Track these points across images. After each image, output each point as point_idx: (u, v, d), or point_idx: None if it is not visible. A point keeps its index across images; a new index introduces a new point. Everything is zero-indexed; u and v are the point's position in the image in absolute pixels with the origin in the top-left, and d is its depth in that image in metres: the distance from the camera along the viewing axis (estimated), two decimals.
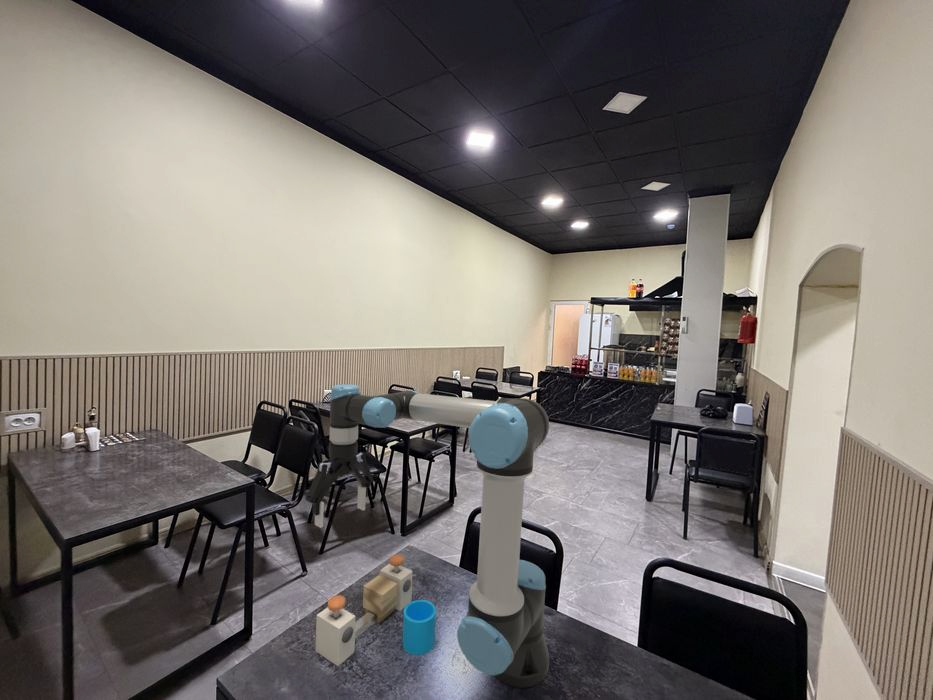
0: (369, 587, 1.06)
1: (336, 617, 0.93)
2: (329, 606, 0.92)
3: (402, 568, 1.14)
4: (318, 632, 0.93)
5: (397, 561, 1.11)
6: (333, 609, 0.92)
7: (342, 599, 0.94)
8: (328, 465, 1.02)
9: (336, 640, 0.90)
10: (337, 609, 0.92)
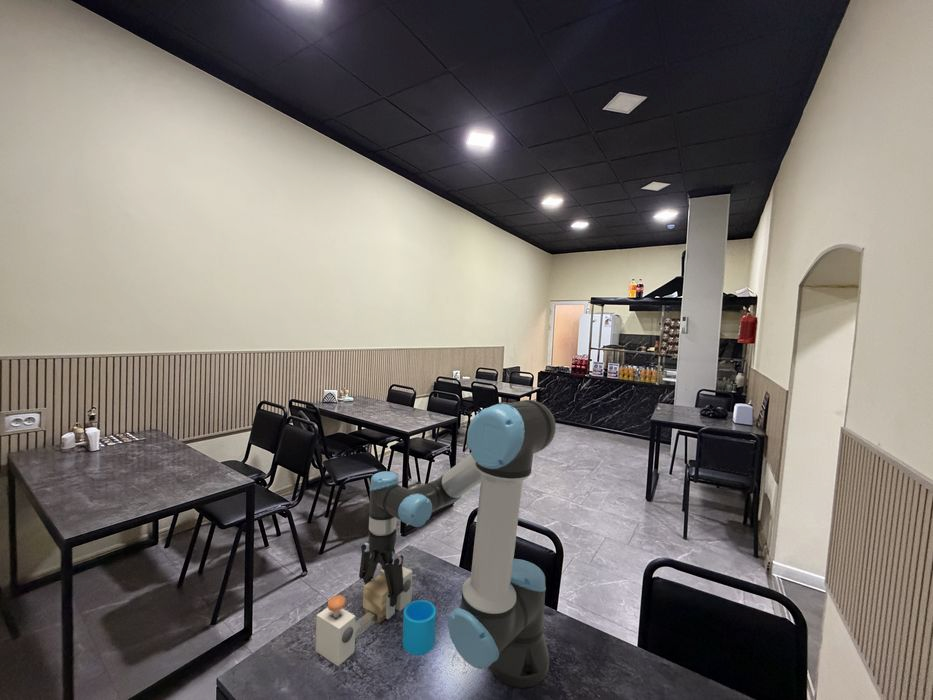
0: (369, 587, 1.06)
1: (336, 617, 0.93)
2: (329, 606, 0.92)
3: (402, 568, 1.14)
4: (318, 632, 0.93)
5: None
6: (333, 609, 0.92)
7: (342, 599, 0.94)
8: (368, 546, 1.09)
9: (336, 640, 0.90)
10: (337, 609, 0.92)
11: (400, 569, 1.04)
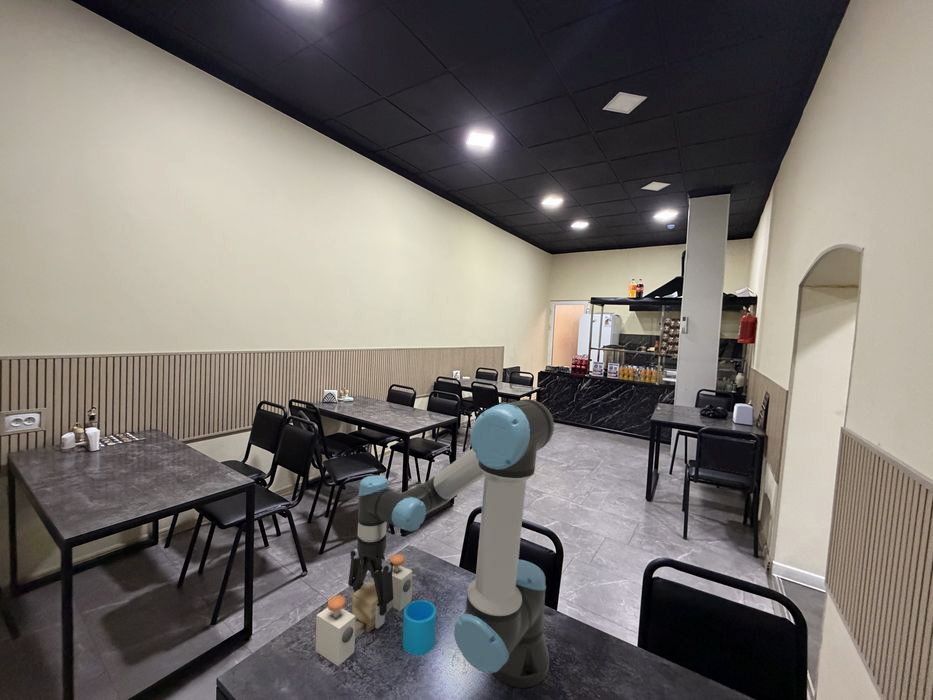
0: (358, 595, 1.02)
1: (336, 617, 0.93)
2: (329, 606, 0.92)
3: (402, 568, 1.14)
4: (318, 632, 0.93)
5: (397, 561, 1.11)
6: (333, 609, 0.92)
7: (342, 599, 0.94)
8: (357, 552, 1.05)
9: (336, 640, 0.90)
10: (337, 609, 0.92)
11: (390, 577, 1.00)
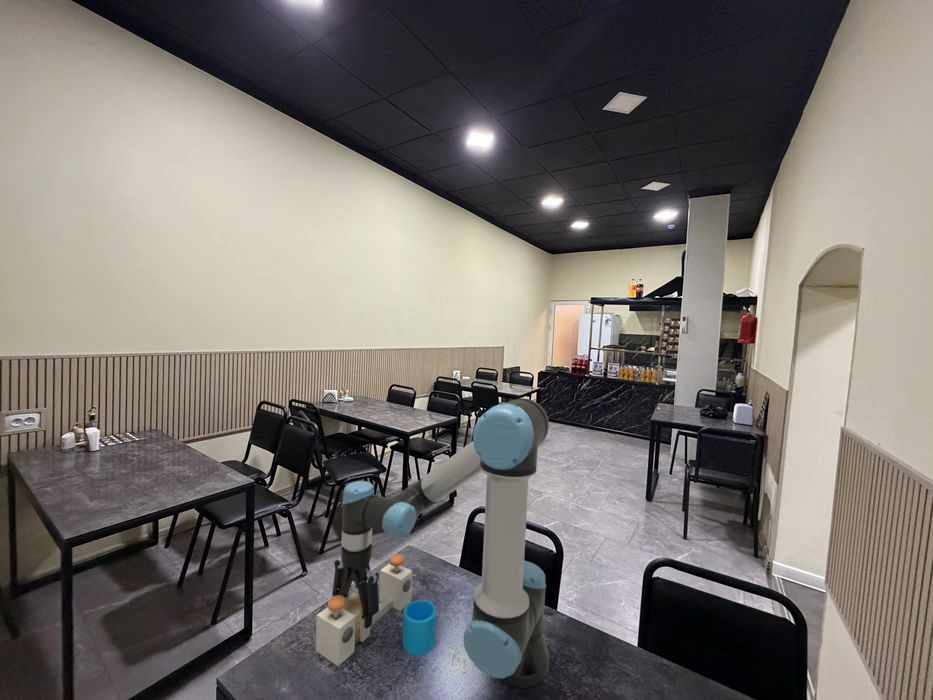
0: None
1: (336, 617, 0.93)
2: (329, 606, 0.92)
3: (402, 568, 1.14)
4: (318, 632, 0.93)
5: (397, 561, 1.11)
6: (333, 609, 0.92)
7: (342, 599, 0.94)
8: (341, 562, 1.01)
9: (336, 640, 0.90)
10: (337, 609, 0.92)
11: (375, 588, 0.96)
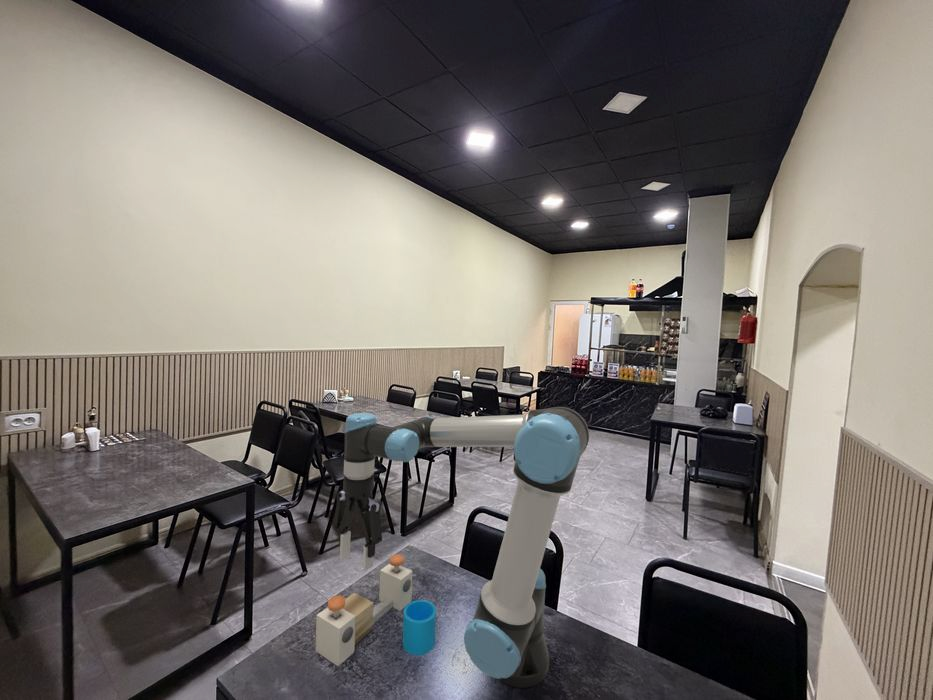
0: None
1: (336, 617, 0.93)
2: (329, 606, 0.92)
3: (402, 568, 1.14)
4: (318, 632, 0.93)
5: (397, 561, 1.11)
6: (333, 609, 0.92)
7: (342, 599, 0.94)
8: (343, 494, 1.00)
9: (336, 640, 0.90)
10: (337, 609, 0.92)
11: (378, 516, 0.95)
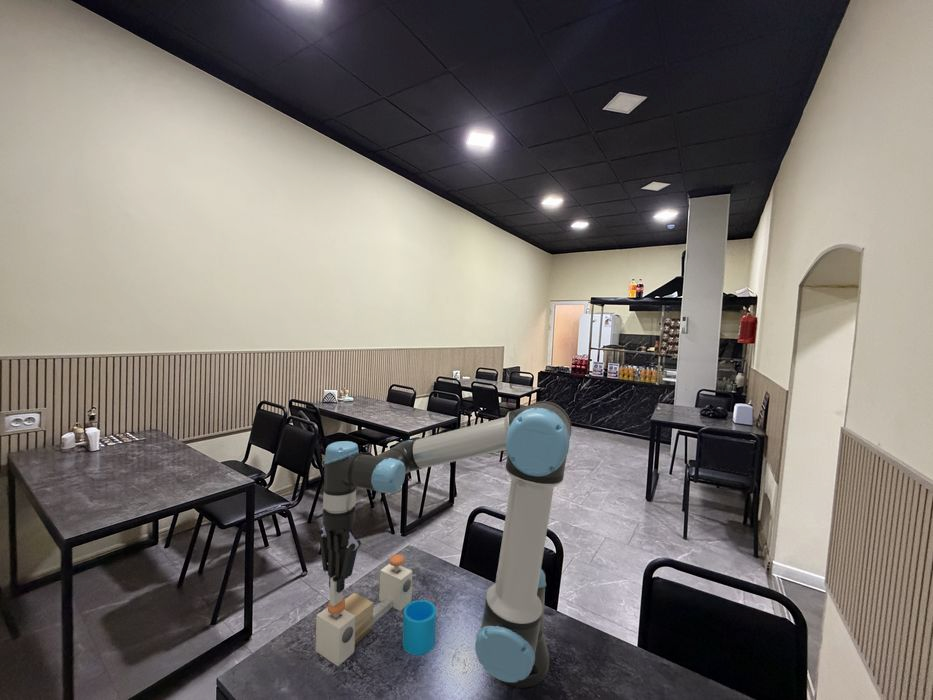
0: None
1: None
2: (329, 609, 0.92)
3: (402, 568, 1.14)
4: (318, 632, 0.93)
5: (397, 561, 1.11)
6: (333, 612, 0.92)
7: (342, 602, 0.94)
8: (324, 529, 0.95)
9: (336, 640, 0.90)
10: (337, 612, 0.92)
11: (354, 554, 0.91)
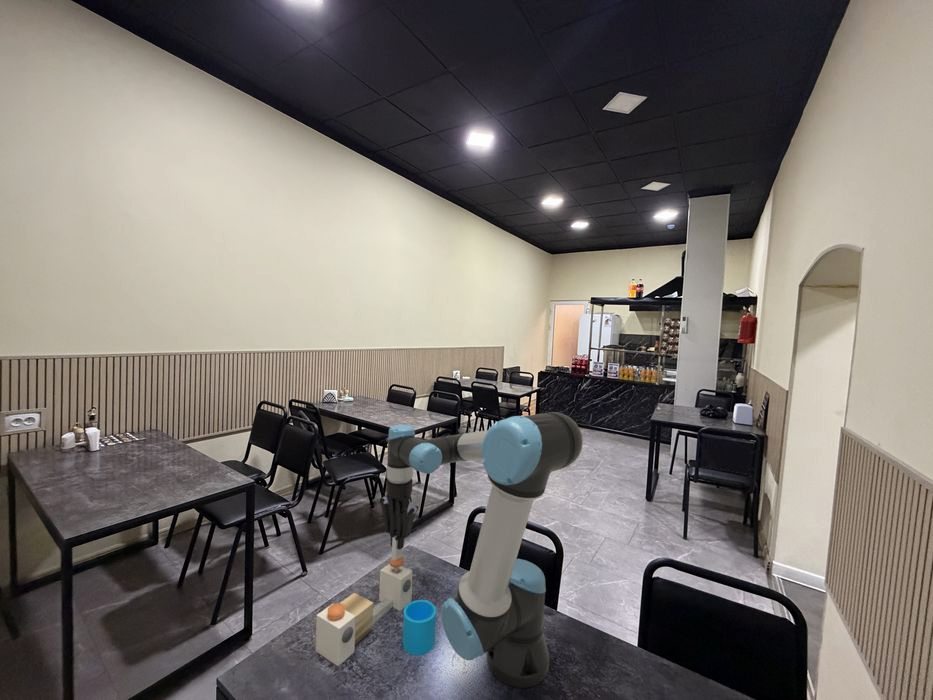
0: None
1: None
2: (329, 614, 0.92)
3: (402, 568, 1.14)
4: (318, 632, 0.93)
5: (397, 562, 1.11)
6: (333, 617, 0.92)
7: (342, 607, 0.94)
8: (386, 498, 1.14)
9: (336, 640, 0.90)
10: (337, 617, 0.92)
11: (412, 517, 1.10)
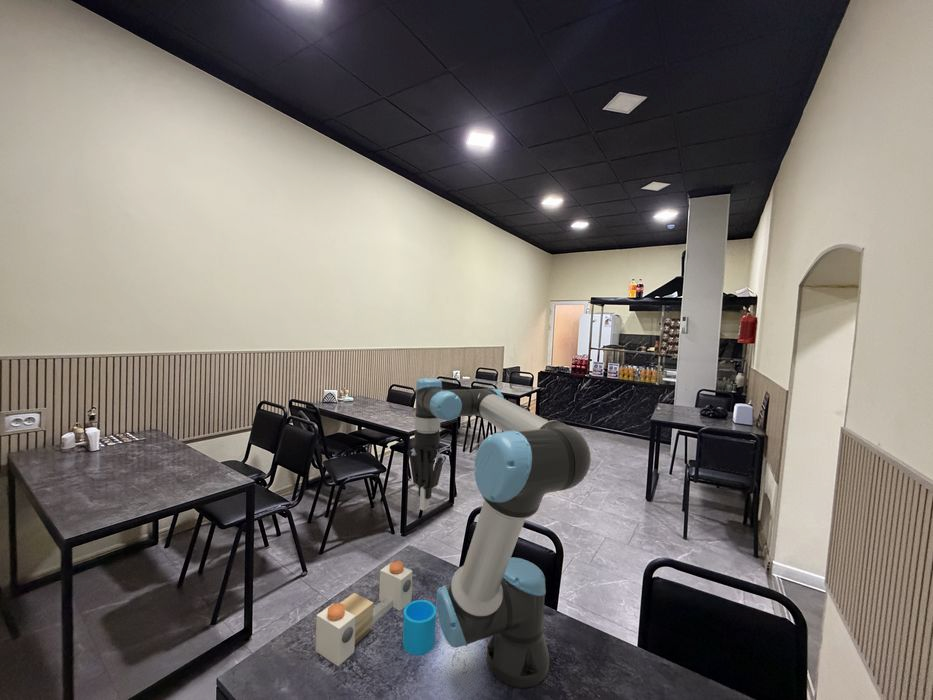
0: None
1: None
2: (329, 614, 0.92)
3: None
4: (318, 632, 0.93)
5: (397, 568, 1.11)
6: (333, 617, 0.92)
7: (342, 607, 0.94)
8: (413, 450, 1.17)
9: (336, 640, 0.90)
10: (337, 617, 0.92)
11: (440, 467, 1.13)
